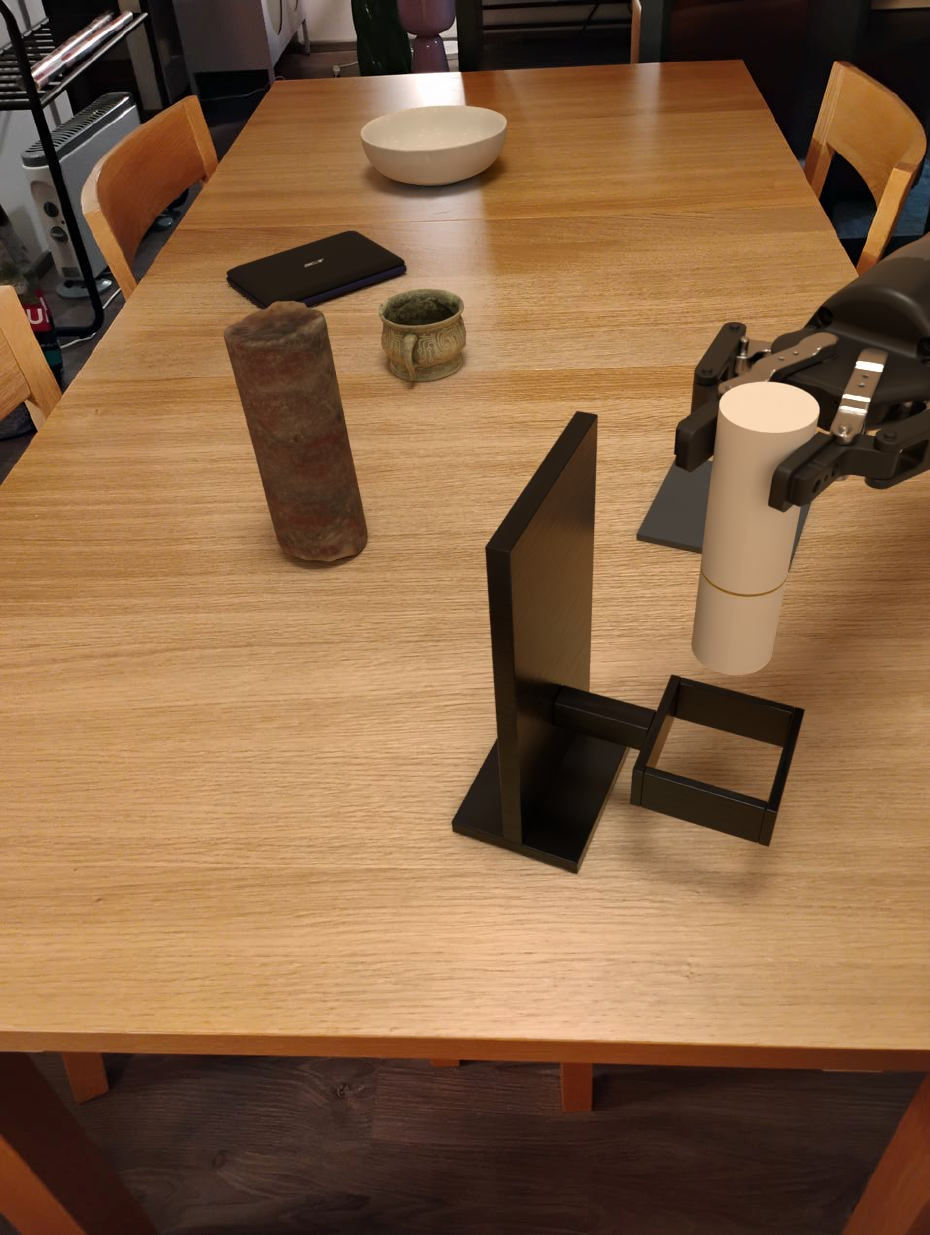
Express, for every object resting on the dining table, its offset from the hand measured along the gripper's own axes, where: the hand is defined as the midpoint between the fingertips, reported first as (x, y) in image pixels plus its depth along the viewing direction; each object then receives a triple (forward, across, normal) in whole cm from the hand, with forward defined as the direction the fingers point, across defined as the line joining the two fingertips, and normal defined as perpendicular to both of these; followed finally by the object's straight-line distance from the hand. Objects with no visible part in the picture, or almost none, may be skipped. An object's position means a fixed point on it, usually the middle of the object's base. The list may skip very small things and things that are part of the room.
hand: (729, 472), depth 44 cm
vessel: (-29, -52, +25) cm, 65 cm away
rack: (+2, -3, +24) cm, 25 cm away
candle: (-2, -38, +25) cm, 45 cm away
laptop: (-35, -78, +25) cm, 89 cm away
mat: (-27, -14, +25) cm, 39 cm away
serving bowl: (-69, -91, +25) cm, 117 cm away
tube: (-3, 0, +13) cm, 13 cm away
